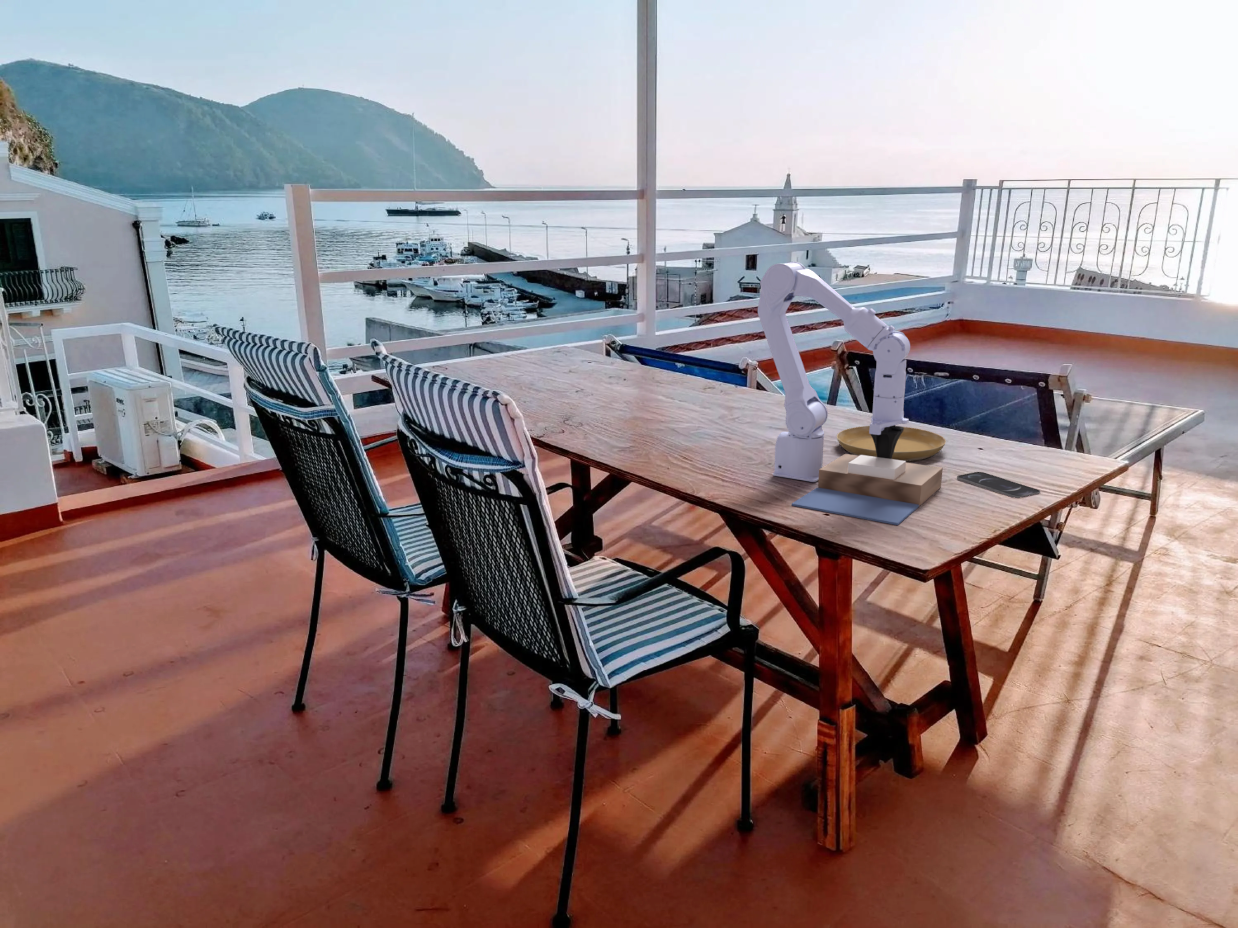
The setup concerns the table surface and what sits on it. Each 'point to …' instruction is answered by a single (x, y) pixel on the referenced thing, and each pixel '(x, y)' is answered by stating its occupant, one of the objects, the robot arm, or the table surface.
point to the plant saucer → (907, 448)
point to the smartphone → (997, 484)
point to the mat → (856, 505)
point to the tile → (877, 467)
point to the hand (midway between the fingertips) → (884, 462)
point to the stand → (882, 481)
